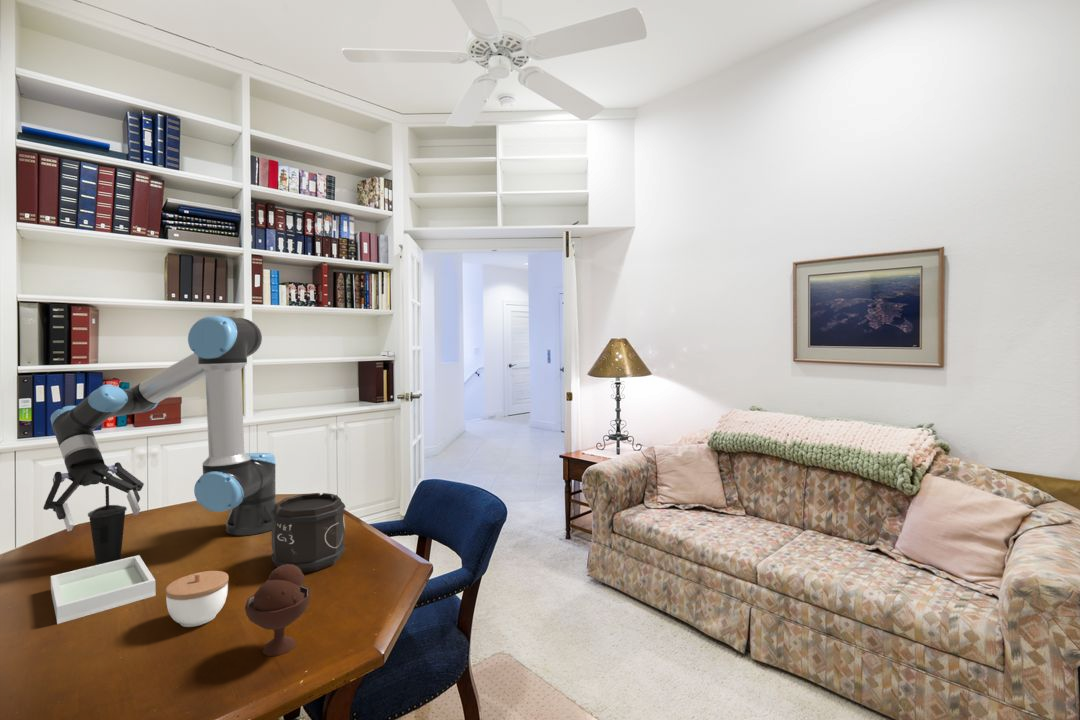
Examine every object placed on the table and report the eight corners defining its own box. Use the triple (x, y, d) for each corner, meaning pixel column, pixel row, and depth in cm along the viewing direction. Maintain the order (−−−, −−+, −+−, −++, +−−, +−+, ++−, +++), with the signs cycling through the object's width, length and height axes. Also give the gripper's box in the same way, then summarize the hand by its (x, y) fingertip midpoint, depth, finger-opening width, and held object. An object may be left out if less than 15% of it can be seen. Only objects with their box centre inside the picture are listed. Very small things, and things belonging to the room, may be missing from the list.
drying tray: (50, 591, 115) (50, 576, 115) (139, 568, 126) (139, 555, 126) (57, 624, 101) (56, 607, 101) (155, 595, 113) (155, 580, 113)
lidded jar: (240, 607, 108) (240, 564, 108) (202, 635, 97) (201, 587, 97) (194, 604, 109) (194, 561, 109) (152, 632, 98) (151, 585, 98)
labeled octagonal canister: (348, 543, 143) (347, 488, 143) (343, 569, 126) (343, 507, 126) (278, 550, 138) (277, 494, 137) (263, 579, 121) (262, 515, 120)
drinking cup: (134, 558, 132) (133, 483, 132) (101, 571, 125) (99, 491, 125) (115, 554, 135) (113, 481, 134) (81, 566, 128) (79, 488, 127)
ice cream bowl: (261, 632, 98) (260, 557, 98) (320, 630, 99) (319, 555, 99) (233, 666, 88) (232, 582, 87) (299, 663, 89) (298, 580, 88)
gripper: (133, 455, 149) (157, 514, 142) (15, 473, 128) (35, 544, 120) (141, 439, 146) (165, 498, 139) (21, 455, 125) (42, 526, 117)
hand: (105, 520), depth 130 cm, fingers open, 13 cm apart
